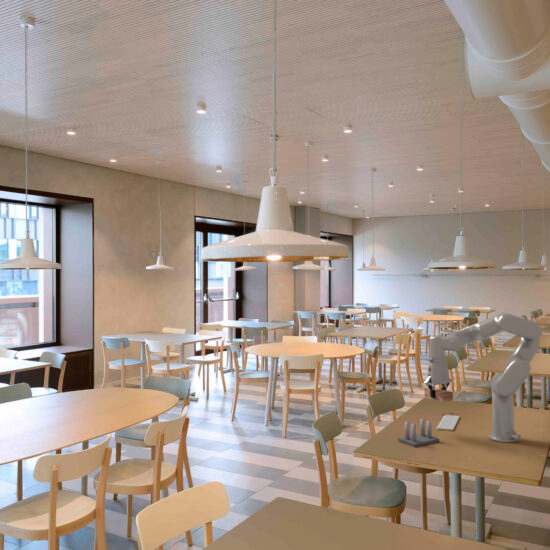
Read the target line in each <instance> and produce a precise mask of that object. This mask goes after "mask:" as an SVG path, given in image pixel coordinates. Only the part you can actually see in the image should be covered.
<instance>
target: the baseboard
mask: <svg viewBox="0 0 550 550" xmlns="http://www.w3.org/2000/svg"><path fill="white" fill-rule="evenodd" d="M460 417H461V416H460V414H456V413H455V415H454V413H452V412H449V414H445V412H443V414H442V418H441V420H440V421H439V423H438V424H437V426H436V427H435V430H436V431H444V430H448V431H447V432H454V430H455V428H456V426H457V424H458V422H459V420H460Z"/></svg>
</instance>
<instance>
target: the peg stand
mask: <svg viewBox="0 0 550 550" xmlns="http://www.w3.org/2000/svg"><path fill="white" fill-rule="evenodd" d="M425 421H426V420H425V418H420V433H418V434H417V424H416V423H411V429H410V422H409V421H405V422H404V428H405V429H404V430H405V431H404V433H405V434H404V435H405V436H402V437H398V438H397V441H399V443H401V444H405V445H406V446H409V445H410V447H413V448H417V447H422V446H426V445H431V444H434V443H439V442H440V438H438V437H435V436H432V435H433V434H432V420H427V421H426V422H425ZM425 423H426V425H425ZM410 430H411V435H410ZM426 430H427V432H426Z"/></svg>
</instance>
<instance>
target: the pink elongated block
mask: <svg viewBox="0 0 550 550" xmlns="http://www.w3.org/2000/svg"><path fill="white" fill-rule="evenodd" d="M434 390H435V398H431V397H430V389H429V388H428V387H426V388H424V397H426V398H429V399H433V400H436V401H440V402H442V403H443V402H450V401H451V402H452V401H454V392H452V391H449V390H447V389H446V390H442V389H441V388H439V387H435V388H434Z"/></svg>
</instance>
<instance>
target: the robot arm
mask: <svg viewBox="0 0 550 550" xmlns="http://www.w3.org/2000/svg"><path fill="white" fill-rule="evenodd" d="M503 332H507V333H509V334H510V335H511V334H512V335H515V336H519V337H520V341H519V343H518V345H517V346H516V349H515V350H514V351H513V352H512V353H511V354H510V356H509V357H508V358H507V360H506V362H505V369H504V371H503V372H498V373H495V374H494V375H493V376H492V378H491V381H490V389H491V402H492V403H491V404H492V405H491V406H492V407H491V410H492V414H491V415H492V433H491V434H489V439H491V440H493V441H496V442H499V443H500V442H501V443H515V442H518V441H520V439H521V434H517V430H515V418H514V417H515V416H514V415H515V411H514V410H515V408H514V405H515V404H514V395H515V394H516V393H517V391H519V389H520V387H521V386H522V385H523V384H524V382H525V381H526V379H527V378H528V377H529V375H530V373H531V364H530V363H531V362H532V361H533V359H534V358H535V356H536V355H537V353H538V351H539V348H540V344H541V340H540V339H541V335H542V332H543V331H542V326H541V325H540V323H538V322H537V321H534V320H531V319H526V318H523V317H520V316H517V315H513V314H511V313H507V312H501V313H497V314H495V315H493V316H491V317H488V318H486V319H484V320H481V321H479V322H477V323H474V324H471V325H470V326H467V327H464V328H461V329H459V330H457V331H454V332H452V333H450V334H448V335H447V336H443V335H430V337H429V358H428V362H429V363H428V367H427V377H426V379H425V381H424V385H426V386H427V387H426V388H429V389H430V397H431V398H430V399H432V398H435V390H434V388H436V386H437V385H441V387H440V389H442V390H446V391H447V389H448V388H449V385H450V383H452V379H451V378H450V372H449V366H448V363H447V361H446V351H448V352H458V351H460V350H461V349H462V348H463V347H462V346H464V345H466V344H468V343H471V342H476V341H484V340H486V339H489V338H491V337H493V336H495V335H498V334H501V333H503Z"/></svg>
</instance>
